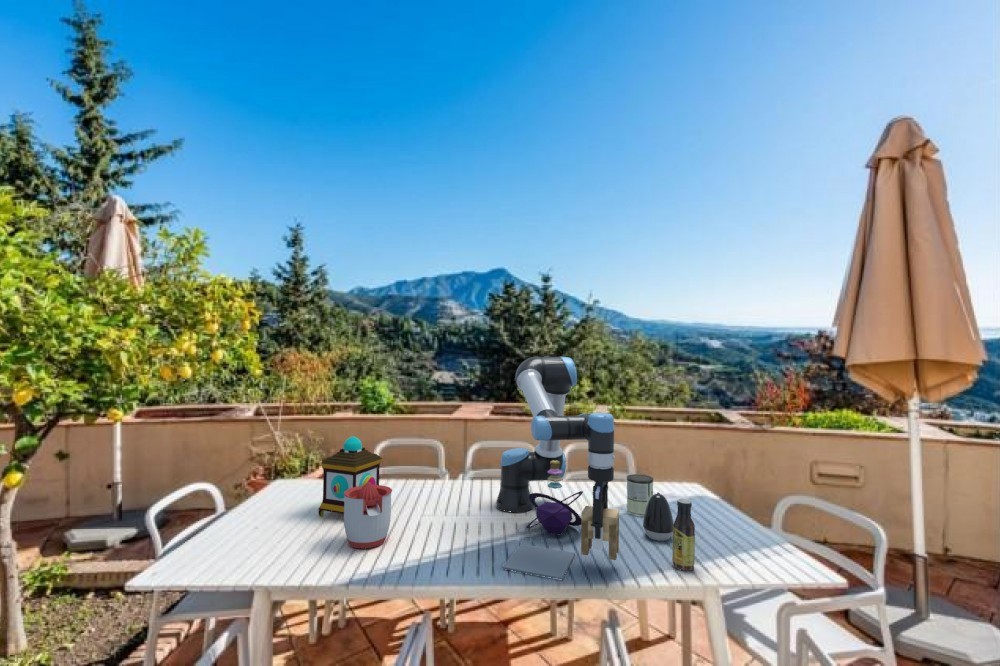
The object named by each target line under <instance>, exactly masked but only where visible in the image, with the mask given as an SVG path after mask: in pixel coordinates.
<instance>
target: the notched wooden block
mask: <svg viewBox="0 0 1000 666" xmlns="http://www.w3.org/2000/svg"><path fill="white" fill-rule="evenodd" d="M580 517H581V525H580V526H581V528H580V529H581V530H580V531H581V532H580V534H581V535H580V555H583V556H589V554H590V549H592V548H593V526H591V524H592V517H593V505H592V506H591V505H585V506H584V508H583V510H582V511H581V514H580ZM602 525H603V542H608V560H611V561H612V560H613V561H617V557H618V555H617V554H619V551H620V545H619V543H620V540H619V539H620V509H613V508H608V509H607V508H606V509H605V508H603V522H602Z"/></svg>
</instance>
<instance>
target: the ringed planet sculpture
mask: <svg viewBox="0 0 1000 666" xmlns="http://www.w3.org/2000/svg"><path fill="white" fill-rule="evenodd" d="M550 464H551V469H550V470H549V471H548V473H549V474H553V475H551V476H550V477H548V480H547V481H549V483H548V484H547V487H548V488H551V489H561V488H562V487H563V485H562V484H561V482H562V480H563V477H562V478H561V477H560V476H554V475H558V474H562V473H563V472H562V471H561V470H559V465H560V462H559V461H558V460H556V461H554V460H552V461H550ZM583 494H584V491H578V492H576V493H573V494H571V495H569V496H567V497H566V498H564V499H562V500H560V499H558V498H556V497H553V496H551V495H549V494H548V495H547V494H545V493H539V492H532V493H531V492H530V495H529V500H530V502H531V503H532V504H533V507H534V508H535V509H536V510H535V511H536V517H535V518H534V519H532V520H531V521H530V522H529V523H528V524H527V525H526V526H525V528H524V529H525V530H529V529H531V528H534V527H536V526H539V525H541V526H542V528H543V529H544V530H545V531H546V533H547V534H548V535H557V534H560V535H562V534H563V532H564V531H565V530H566V529H567V527H568V526H570V527H571V526H572V527H579V526H581V515H580V514H578V512H577V511H576V510H575V509H573V508H572V507H571V506H570V505H571V504H572V503H574V502H575V501H576V500H578V499H579V497H581V496H582V495H583ZM575 496H576V497H575ZM572 497H575V498H573V499H572V500H571V501H570V502H569V503H565V501H566V500H568V499H570V498H572ZM537 498H543V499H547V500H550V501H545V502H544V503H541V504H539V505H538V504H537V503H536V499H537ZM573 516H574V517H575V520H574V521H573ZM536 520H537V521H538V522H537V523H535V524H533V522H535V521H536Z"/></svg>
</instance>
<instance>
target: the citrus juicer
mask: <svg viewBox="0 0 1000 666" xmlns="http://www.w3.org/2000/svg"><path fill="white" fill-rule="evenodd" d="M392 492H393V490H392V488H391V487H389V486H387V485H382V484H379V485H372V484H371V483H370V482H367V483H366V484H365V485H363V486H357V487H353V488H350V489H348V490H346V491H345V492H344V495H345V498H344V514H343V527H344V532H345V537H346V540H347V542H348V543H347V544H348V545H349V546H350V547H351V548H354V549H357V548H361V549H370V548H371V549H372V548H376V547H378V546H381V545H383V544H384V543H385V541H386V540H387V536H388V532H389V529H390V524H391V519H392V518H391V515H392V514H391V513H392Z"/></svg>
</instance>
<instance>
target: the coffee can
mask: <svg viewBox="0 0 1000 666" xmlns="http://www.w3.org/2000/svg"><path fill="white" fill-rule="evenodd" d="M626 492H627V493H626V499H627V500H626V502H627V503H626V507H627V509H626V512H627V513H628V514H629V515H631V516H634V517H640V518H642V517H643V518H644V514H645V510H646V507H647V504H648V501H649V499H650V498H651V496H652V495H654V478H653V477H652V476H650V475H646V474H641V473H640V474H637V473H636V474H628V475H626Z"/></svg>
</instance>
